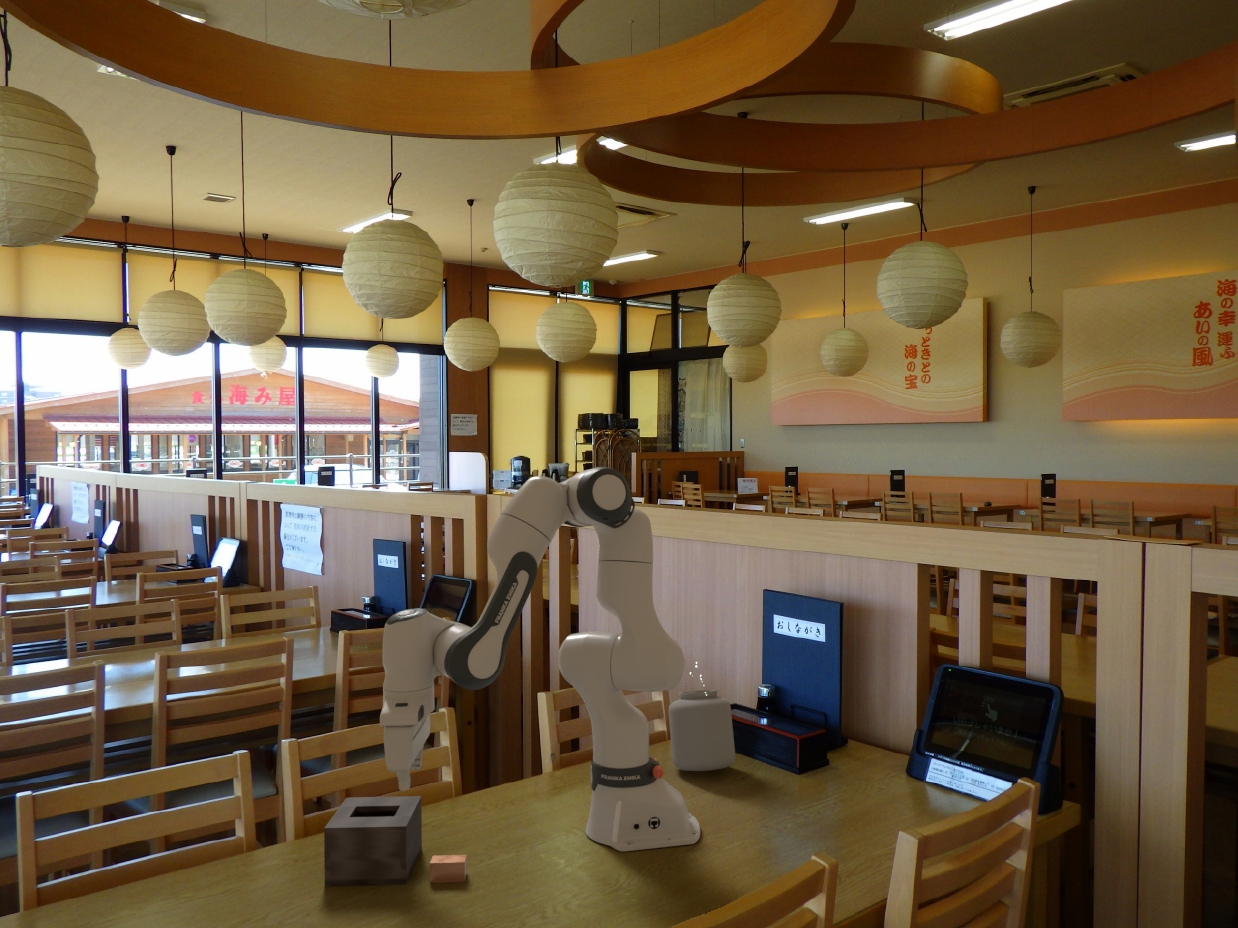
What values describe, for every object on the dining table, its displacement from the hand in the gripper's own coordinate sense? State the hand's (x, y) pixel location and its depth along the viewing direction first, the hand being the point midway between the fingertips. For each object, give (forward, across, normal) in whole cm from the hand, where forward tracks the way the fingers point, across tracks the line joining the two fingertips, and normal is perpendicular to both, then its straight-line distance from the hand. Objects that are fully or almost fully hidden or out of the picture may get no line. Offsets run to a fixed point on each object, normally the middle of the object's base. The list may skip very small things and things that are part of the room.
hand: (410, 778), depth 158 cm
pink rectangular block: (+17, +3, +7) cm, 18 cm away
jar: (+18, -50, +57) cm, 79 cm away
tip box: (+16, -2, -7) cm, 18 cm away
